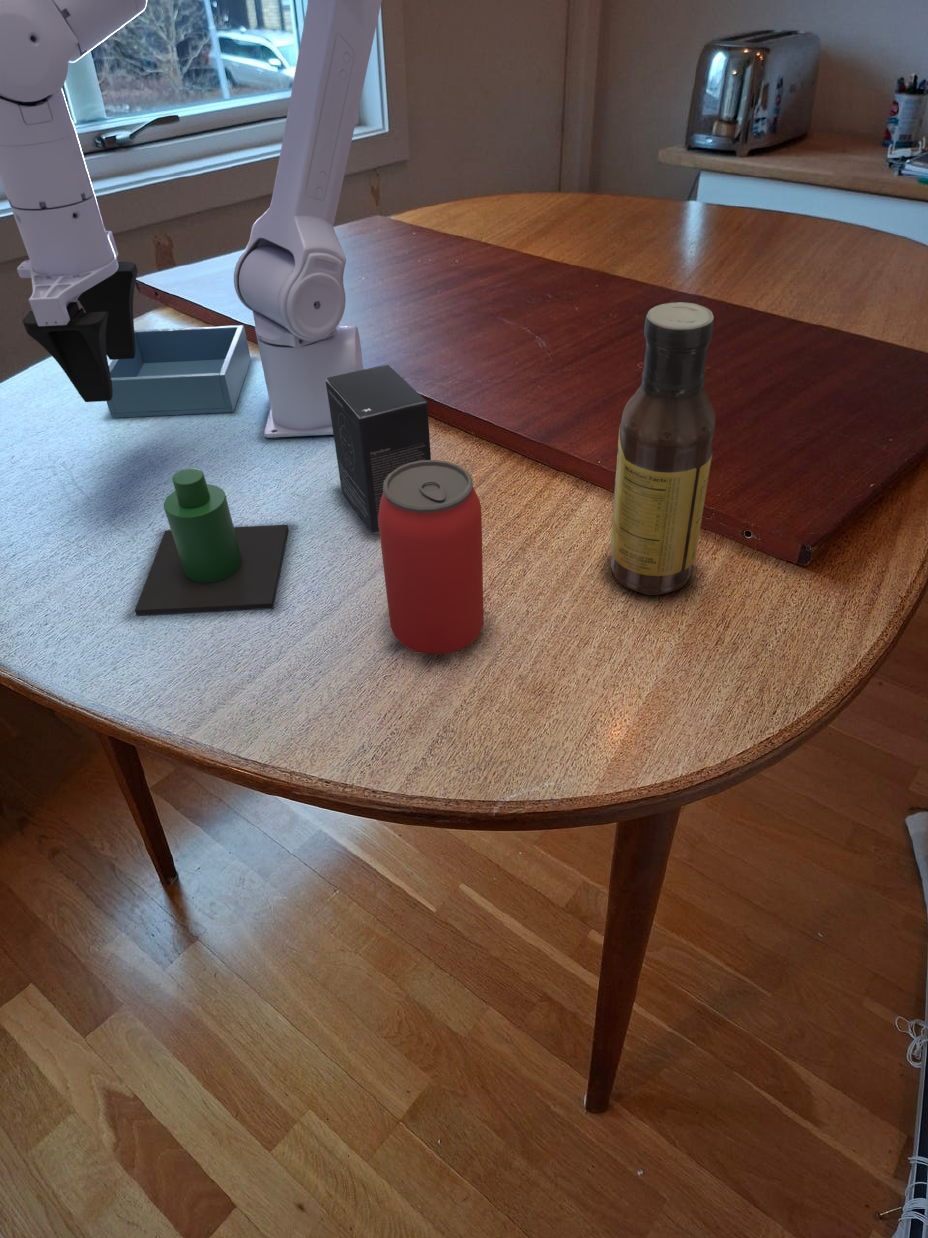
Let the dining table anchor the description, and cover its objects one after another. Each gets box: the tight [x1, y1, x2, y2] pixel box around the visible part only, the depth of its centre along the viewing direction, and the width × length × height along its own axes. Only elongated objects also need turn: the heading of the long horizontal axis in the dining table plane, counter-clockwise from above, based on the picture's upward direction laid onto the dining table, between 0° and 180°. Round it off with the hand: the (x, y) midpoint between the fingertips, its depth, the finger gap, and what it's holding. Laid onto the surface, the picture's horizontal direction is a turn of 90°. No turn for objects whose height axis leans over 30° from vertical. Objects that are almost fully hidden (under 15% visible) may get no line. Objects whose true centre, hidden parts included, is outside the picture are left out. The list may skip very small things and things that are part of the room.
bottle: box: [163, 467, 242, 583], centre depth 63 cm, size 4×4×8 cm
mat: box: [134, 524, 289, 616], centre depth 65 cm, size 10×10×1 cm
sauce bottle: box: [609, 301, 717, 596], centre depth 57 cm, size 6×6×20 cm
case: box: [105, 324, 252, 419], centre depth 88 cm, size 12×12×4 cm
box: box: [325, 363, 432, 535], centre depth 68 cm, size 8×6×11 cm
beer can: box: [378, 459, 485, 656], centre depth 56 cm, size 7×7×12 cm
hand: (111, 377), depth 69 cm, fingers open, 7 cm apart
